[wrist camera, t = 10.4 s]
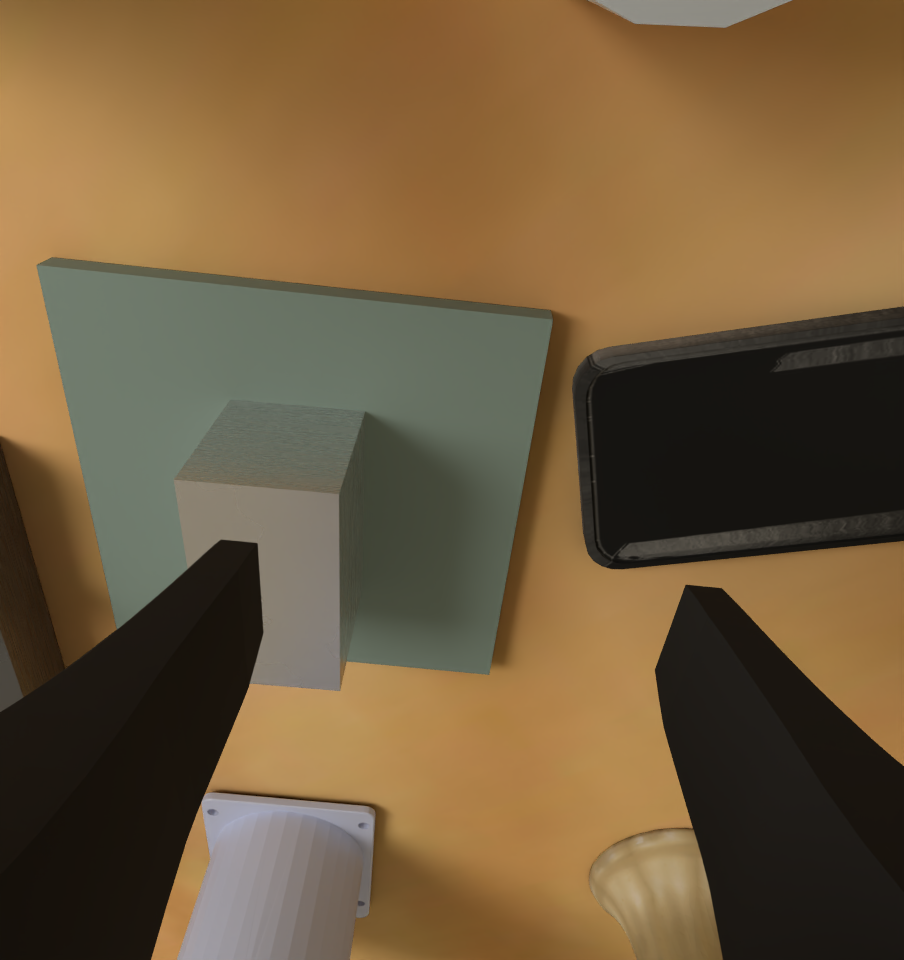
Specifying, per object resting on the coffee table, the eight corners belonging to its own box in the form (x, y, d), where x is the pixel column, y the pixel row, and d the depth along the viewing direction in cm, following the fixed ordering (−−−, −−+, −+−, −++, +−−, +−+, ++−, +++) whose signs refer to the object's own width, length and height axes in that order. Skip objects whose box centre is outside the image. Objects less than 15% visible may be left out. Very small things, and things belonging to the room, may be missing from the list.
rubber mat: (488, 658, 27) (489, 674, 26) (128, 624, 27) (119, 640, 26) (550, 309, 20) (552, 319, 19) (52, 257, 19) (36, 264, 19)
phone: (1063, 524, 22) (588, 573, 24) (1039, 504, 23) (583, 553, 25) (1156, 279, 18) (572, 359, 20) (1122, 267, 19) (568, 344, 21)
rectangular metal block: (362, 589, 24) (340, 690, 20) (248, 579, 24) (204, 679, 20) (365, 411, 21) (338, 494, 17) (230, 399, 21) (173, 480, 17)
